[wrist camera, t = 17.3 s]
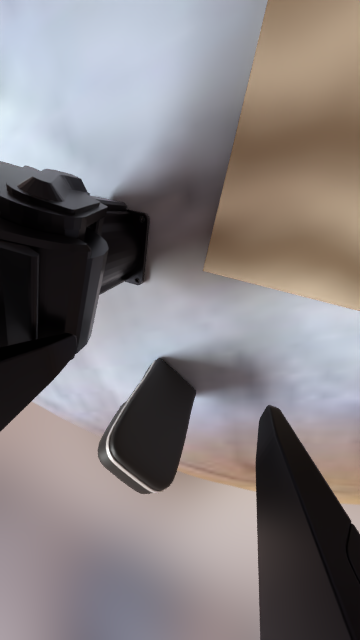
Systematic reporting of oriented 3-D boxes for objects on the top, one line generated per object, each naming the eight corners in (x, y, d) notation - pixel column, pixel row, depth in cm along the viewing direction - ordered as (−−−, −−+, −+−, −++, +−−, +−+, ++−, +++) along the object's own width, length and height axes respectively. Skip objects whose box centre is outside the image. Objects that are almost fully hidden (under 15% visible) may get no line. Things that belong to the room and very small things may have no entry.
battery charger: (141, 368, 26) (81, 459, 16) (158, 354, 24) (102, 446, 14) (180, 402, 27) (144, 507, 17) (199, 390, 25) (172, 501, 15)
